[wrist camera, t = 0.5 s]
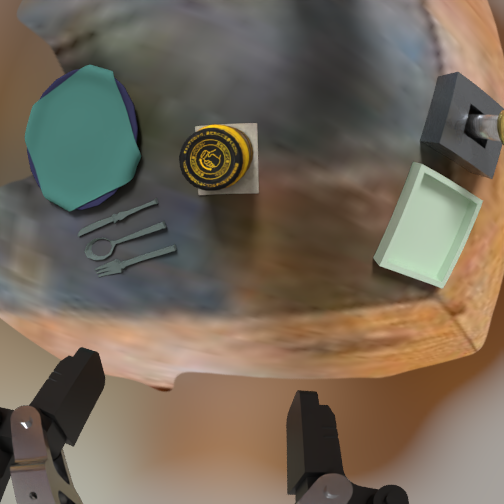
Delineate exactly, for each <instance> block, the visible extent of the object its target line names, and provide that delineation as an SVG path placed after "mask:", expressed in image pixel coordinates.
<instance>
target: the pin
mask: <svg viewBox="0 0 504 504" xmlns="http://www.w3.org/2000/svg"><path fill="white" fill-rule="evenodd" d="M463 133H464V134H466V135H467V136H468V137H473V138H481V139H488V140H495V141H501V142H502V144H503V145H504V110H502V111H501V112H500V114H499V115H476V114H468V117H467V121H466V125H465V129H464V132H463Z"/></svg>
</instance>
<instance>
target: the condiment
mask: <svg viewBox="0 0 504 504" xmlns="http://www.w3.org/2000/svg"><path fill="white" fill-rule="evenodd" d="M179 161H180V162H179V163H180V168H181V171H182V174H183V175H184V177H185V178H186V180H187V181H189V183H190V184H192V185H193V186H194V187H196V188H198V192H199V195H211V194H233V193H234V194H244V193H259V182H258V137H257V123H244V124H222V125H215V124H213V125H206V126H195V133H193V134H192V135H191V136H189V137H188V138H187V140H186V141H185V142H184V144H183V146H182V149H181V152H180V156H179Z"/></svg>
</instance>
